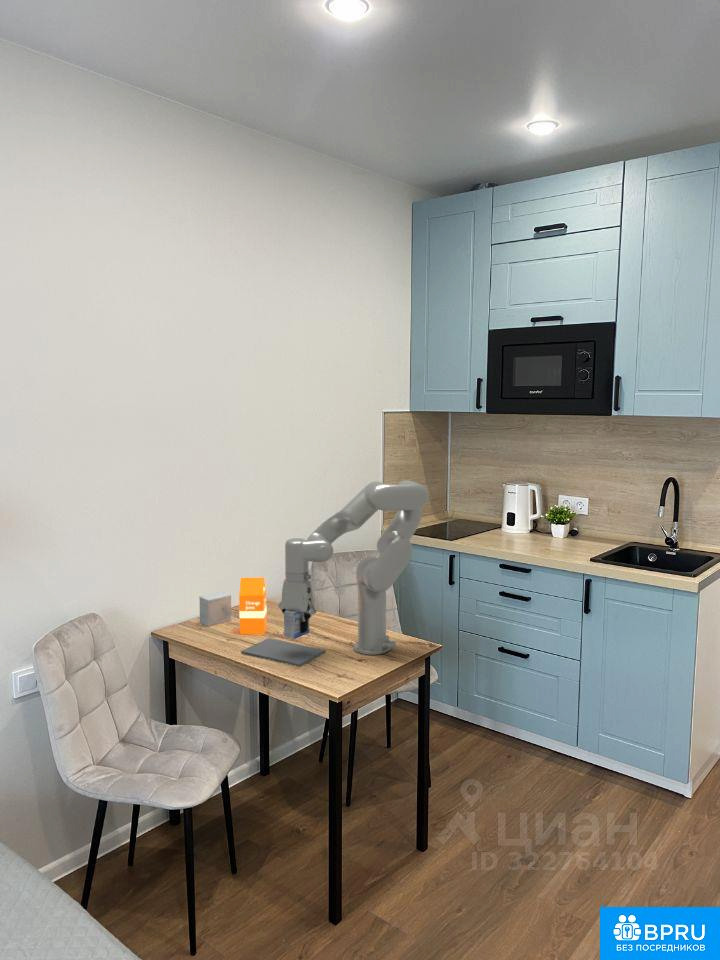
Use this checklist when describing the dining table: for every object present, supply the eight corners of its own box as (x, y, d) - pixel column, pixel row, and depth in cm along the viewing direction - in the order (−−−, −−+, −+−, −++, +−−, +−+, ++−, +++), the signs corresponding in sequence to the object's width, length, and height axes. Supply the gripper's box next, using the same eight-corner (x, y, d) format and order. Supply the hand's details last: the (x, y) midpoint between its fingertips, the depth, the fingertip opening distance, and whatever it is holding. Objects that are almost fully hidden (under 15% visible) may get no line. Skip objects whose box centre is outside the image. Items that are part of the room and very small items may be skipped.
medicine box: (293, 639, 233) (293, 613, 232) (283, 636, 236) (283, 610, 235) (309, 633, 239) (309, 607, 238) (299, 630, 242) (299, 605, 241)
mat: (325, 652, 242) (325, 649, 242) (300, 666, 229) (300, 664, 229) (268, 640, 254) (268, 637, 254) (241, 653, 241) (241, 651, 241)
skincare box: (208, 627, 268) (207, 599, 267) (199, 623, 273) (198, 596, 272) (232, 621, 276) (231, 594, 274) (222, 617, 280) (222, 591, 279)
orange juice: (243, 627, 268) (242, 574, 266) (267, 627, 268) (266, 574, 266) (239, 634, 260) (238, 580, 258) (264, 634, 260) (263, 580, 258)
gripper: (325, 577, 234) (324, 631, 236) (282, 570, 243) (282, 623, 245) (312, 582, 228) (312, 638, 230) (269, 575, 236) (269, 629, 238)
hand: (297, 630), depth 237 cm, fingers closed on medicine box, 4 cm apart
